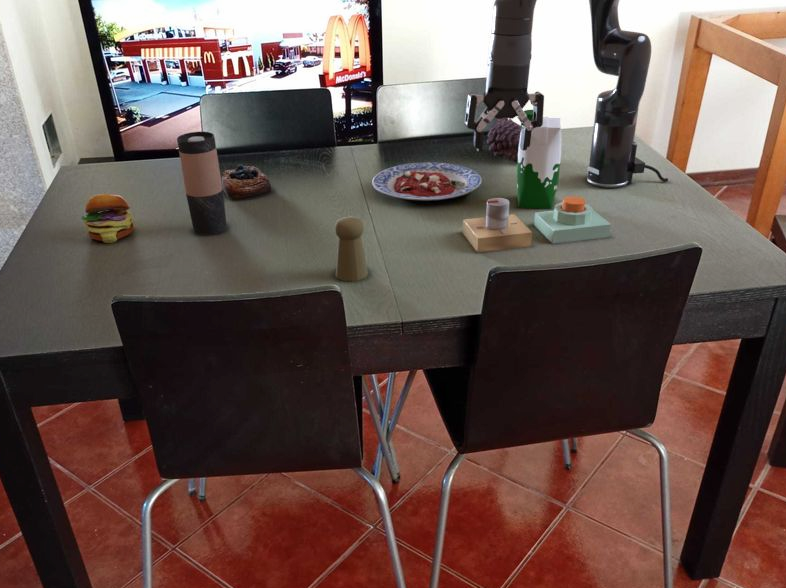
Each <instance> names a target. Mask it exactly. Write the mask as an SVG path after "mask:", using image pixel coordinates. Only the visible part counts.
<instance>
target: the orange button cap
mask: <svg viewBox="0 0 786 588" xmlns="http://www.w3.org/2000/svg"><path fill="white" fill-rule="evenodd" d="M562 202H563V204H562V210H563V211H566V212H573V213H578V212H583V211H584V209H585V204H586V199H585V198H584V197H580V196H574V195H573V196H571V195H570V196H566V197H563V199H562Z"/></svg>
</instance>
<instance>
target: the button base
mask: <svg viewBox="0 0 786 588" xmlns="http://www.w3.org/2000/svg"><path fill="white" fill-rule="evenodd" d="M562 204H563V201H561V202H558V203H556V204H555V205H554V208H553V210H547V211H537V212H534V221H533V222H534V223H533V225H534V227H535V228H536V229H537V230H538V231H540V233H541V234H542V235H543V236H544V237H545V238H546V239H547V240H548V241H549V242H550V243H551V244H553V245H554V244H561V243H569V242H579V241H587V240H595V239H597V240H598V239H603V238H604V239H605V238H610V233H611V228H612V223H610V222H609V221H608V220H607V219H605V217H603V216H602V215H600V214H599V213H598V212H597V211H595V210H594V209H593V207H592V206H591V205H589V204H588V203H585V209H584V211H583V212H578V213H573V212H566V211H563V210H562Z"/></svg>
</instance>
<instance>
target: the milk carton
mask: <svg viewBox="0 0 786 588" xmlns="http://www.w3.org/2000/svg"><path fill="white" fill-rule="evenodd" d="M523 111H524V113H525V114H526V116H527V117H528V119H529V121H530V120H533V109H525V110H523ZM520 125H521V132H522V128H524V126H523V125H522V123H521V122H520ZM561 125H562V124H561V117H549V116H543V124H542V126H541V127H536V128H534V129H533V130H532V132H531V141H530V146H529V147H527V150H521V148H520V142H521V134H520V141H519V148H518V161H517V164H516V192H517V193H516V194H517V201H518V202H517V204H518V209H519V208H520V209H543V210H544V209H547V210H550V209H553V208H552V207H553V204H554V200H555V196H556V192H557V189H558V185H559V179H560V178H559V177H560V170H561V169H560V168H561V159H562V143H563V141H562V126H561Z"/></svg>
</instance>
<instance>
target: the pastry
mask: <svg viewBox="0 0 786 588" xmlns="http://www.w3.org/2000/svg"><path fill="white" fill-rule="evenodd" d="M220 175H221V182H222V189H223V194H225V196H226V197H227V198H229V199H230V200H231V201H245V200H251V199H257V198H261V197H264V196H266V195H269V194H272V184H271V182H270V179H269V178H268V176H267V175H266V174H265V173H263V172H262V171H261V169H259V168H258V167H255V166H254V165H252V166H249V165H248V166H247V165H244V164H243V163H241V164H238V165H237V166H236V168H232V169H225V170H224V171H223V172H220Z"/></svg>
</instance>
